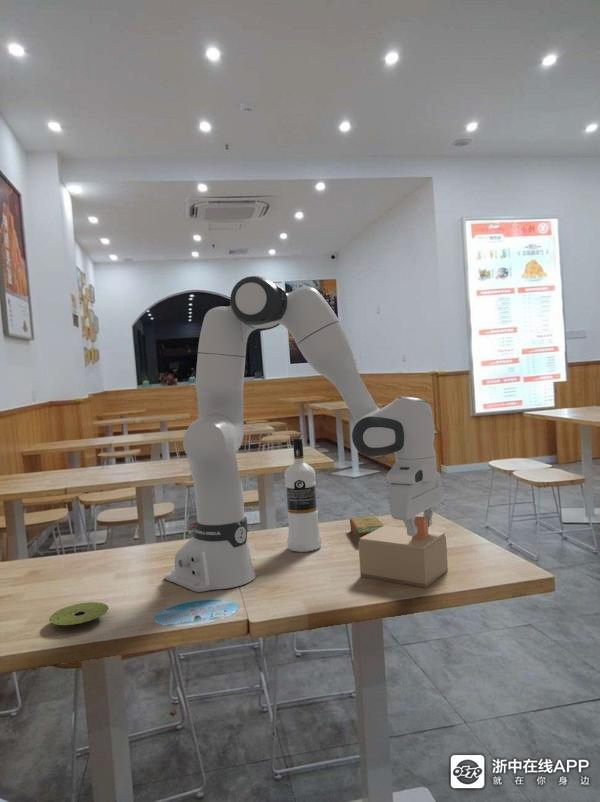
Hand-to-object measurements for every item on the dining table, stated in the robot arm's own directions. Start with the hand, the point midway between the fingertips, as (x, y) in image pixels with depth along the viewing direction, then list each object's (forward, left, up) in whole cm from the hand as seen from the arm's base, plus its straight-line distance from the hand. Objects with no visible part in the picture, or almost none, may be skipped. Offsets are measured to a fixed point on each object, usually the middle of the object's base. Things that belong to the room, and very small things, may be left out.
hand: (419, 530), depth 131 cm
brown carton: (-5, 0, -10) cm, 11 cm away
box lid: (-5, 0, -2) cm, 5 cm away
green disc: (-51, -53, -11) cm, 74 cm away
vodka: (-38, +7, -11) cm, 40 cm away
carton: (-27, +23, -11) cm, 37 cm away
